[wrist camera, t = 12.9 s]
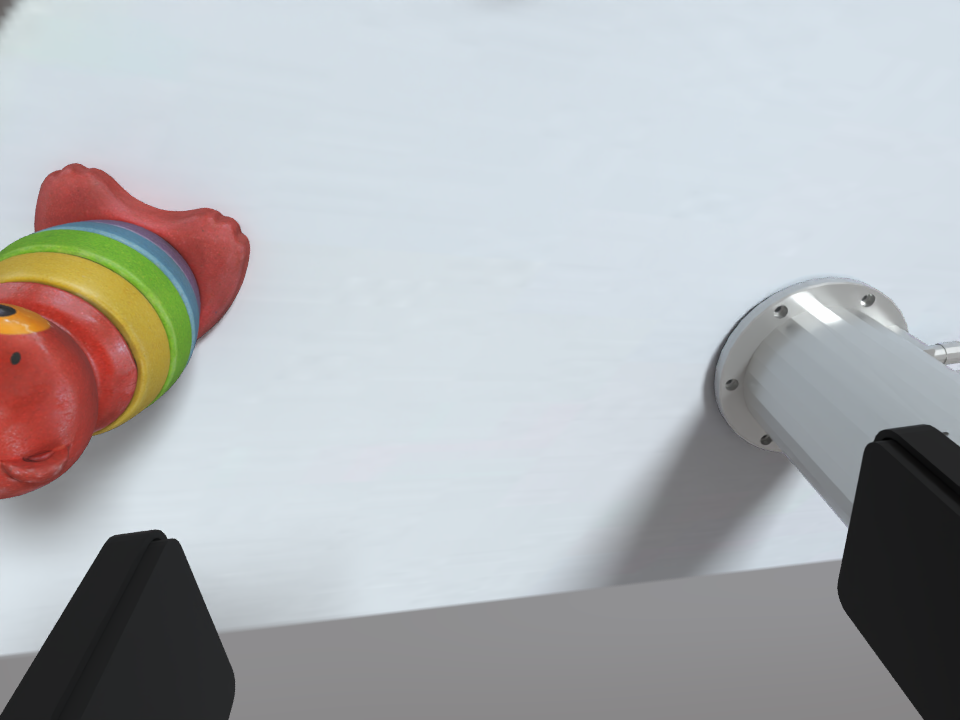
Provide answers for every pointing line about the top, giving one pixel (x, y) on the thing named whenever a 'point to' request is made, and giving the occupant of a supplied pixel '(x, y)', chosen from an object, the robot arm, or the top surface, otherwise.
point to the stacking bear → (101, 315)
